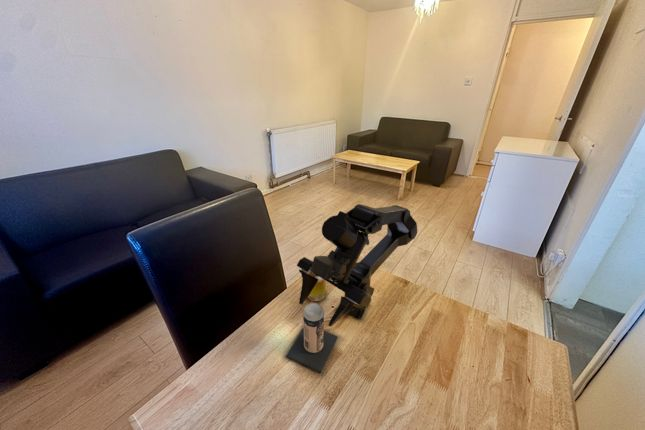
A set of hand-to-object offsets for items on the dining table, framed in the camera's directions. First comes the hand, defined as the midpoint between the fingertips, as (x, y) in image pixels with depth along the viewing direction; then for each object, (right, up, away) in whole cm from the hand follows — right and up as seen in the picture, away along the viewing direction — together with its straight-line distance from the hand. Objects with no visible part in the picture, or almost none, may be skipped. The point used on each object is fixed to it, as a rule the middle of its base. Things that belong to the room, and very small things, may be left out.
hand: (314, 314), depth 59 cm
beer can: (0, -9, +4) cm, 10 cm away
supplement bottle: (0, -2, +20) cm, 20 cm away
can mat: (-1, -10, +5) cm, 11 cm away
